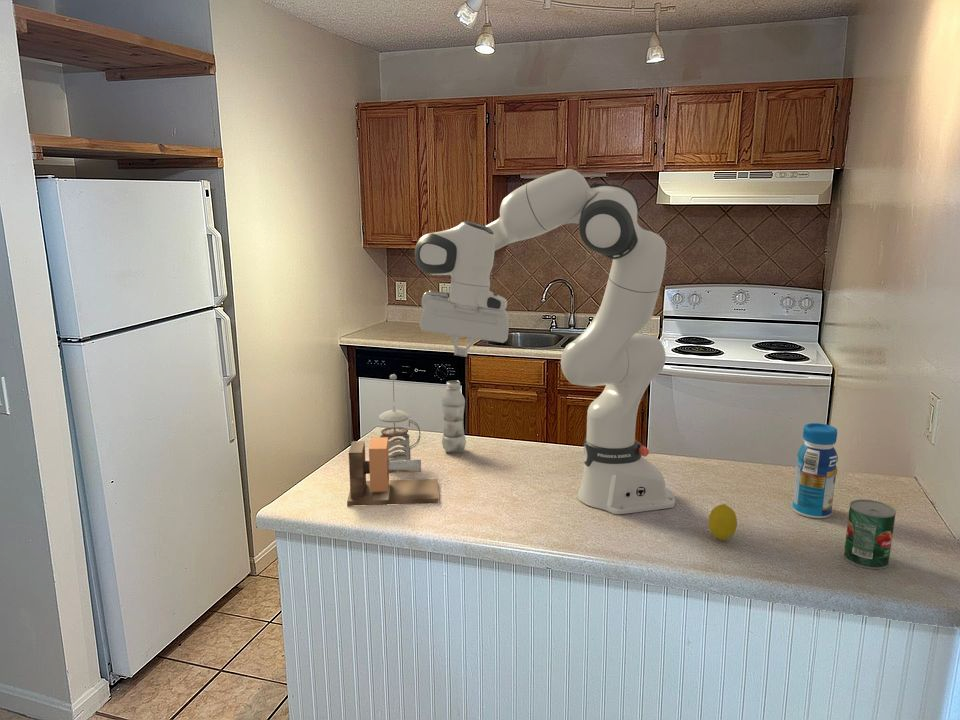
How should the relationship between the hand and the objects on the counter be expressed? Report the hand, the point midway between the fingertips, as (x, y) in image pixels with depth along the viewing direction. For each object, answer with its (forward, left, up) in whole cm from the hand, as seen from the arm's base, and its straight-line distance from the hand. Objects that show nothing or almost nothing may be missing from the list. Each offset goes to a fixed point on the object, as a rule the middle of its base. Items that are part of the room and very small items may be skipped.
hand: (460, 355), depth 163 cm
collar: (+19, -1, -32) cm, 37 cm away
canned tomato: (-78, +37, -34) cm, 93 cm away
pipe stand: (+16, -2, -34) cm, 38 cm away
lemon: (-53, +28, -34) cm, 68 cm away
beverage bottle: (-79, +15, -34) cm, 87 cm away
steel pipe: (+17, -1, -29) cm, 33 cm away
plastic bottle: (0, -30, -34) cm, 46 cm away
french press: (+15, -20, -34) cm, 43 cm away
